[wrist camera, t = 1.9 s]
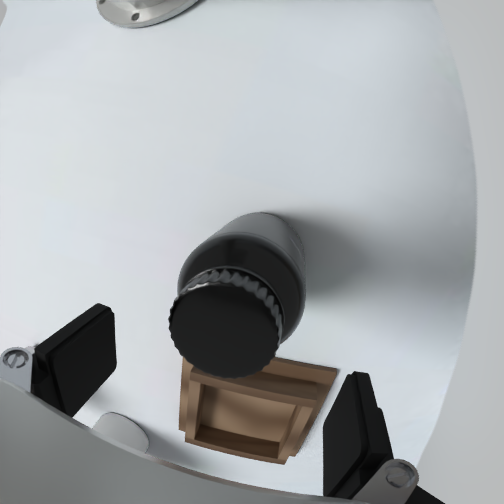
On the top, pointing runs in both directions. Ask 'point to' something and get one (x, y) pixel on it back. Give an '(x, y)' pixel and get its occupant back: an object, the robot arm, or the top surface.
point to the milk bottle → (122, 431)
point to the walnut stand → (253, 409)
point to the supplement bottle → (239, 296)
